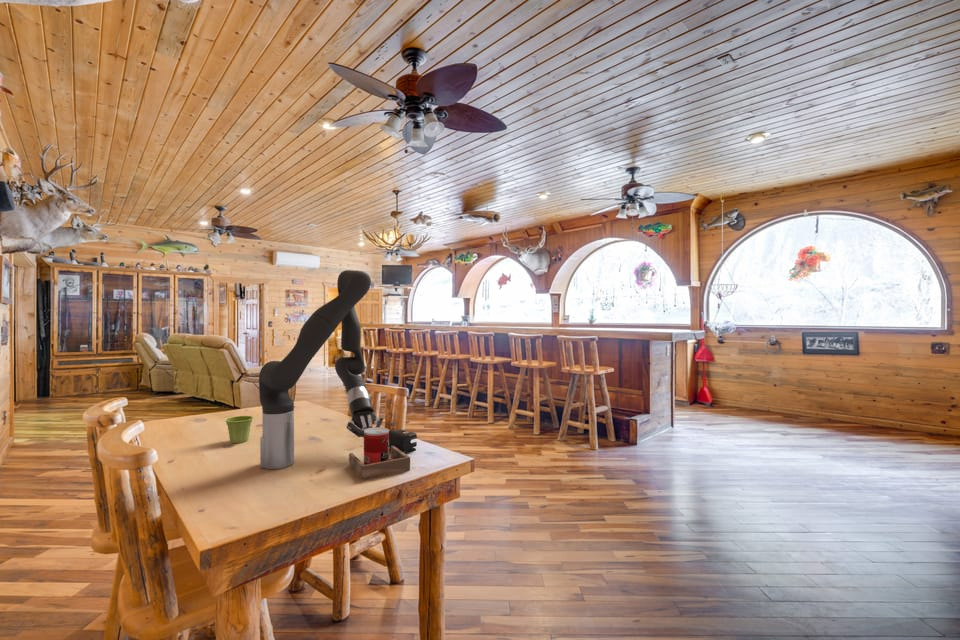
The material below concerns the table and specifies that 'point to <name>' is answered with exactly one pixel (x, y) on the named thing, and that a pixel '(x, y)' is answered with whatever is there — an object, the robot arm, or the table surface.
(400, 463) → the tray
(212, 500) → the table surface
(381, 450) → the canned food
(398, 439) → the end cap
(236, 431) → the plant pot
